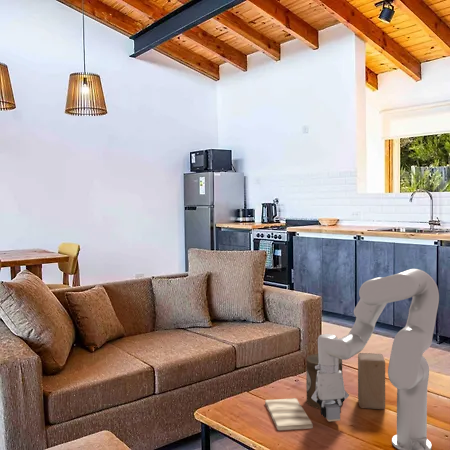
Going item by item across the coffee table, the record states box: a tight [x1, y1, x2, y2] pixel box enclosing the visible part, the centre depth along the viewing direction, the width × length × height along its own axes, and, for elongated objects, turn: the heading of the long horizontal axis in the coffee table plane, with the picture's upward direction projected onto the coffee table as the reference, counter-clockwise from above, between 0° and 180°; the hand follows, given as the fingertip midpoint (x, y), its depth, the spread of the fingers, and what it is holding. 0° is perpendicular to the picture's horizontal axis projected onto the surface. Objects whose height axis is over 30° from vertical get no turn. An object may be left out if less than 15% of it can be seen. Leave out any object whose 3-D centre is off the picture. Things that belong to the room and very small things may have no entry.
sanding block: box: [325, 400, 341, 422], centre depth 188 cm, size 8×4×5 cm, turn 6°
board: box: [264, 398, 314, 431], centre depth 194 cm, size 24×13×2 cm, turn 6°
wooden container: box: [305, 353, 344, 410], centre depth 205 cm, size 15×15×22 cm
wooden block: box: [357, 352, 386, 410], centre depth 202 cm, size 10×10×20 cm
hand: (330, 415), depth 188 cm, fingers closed on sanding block, 4 cm apart
